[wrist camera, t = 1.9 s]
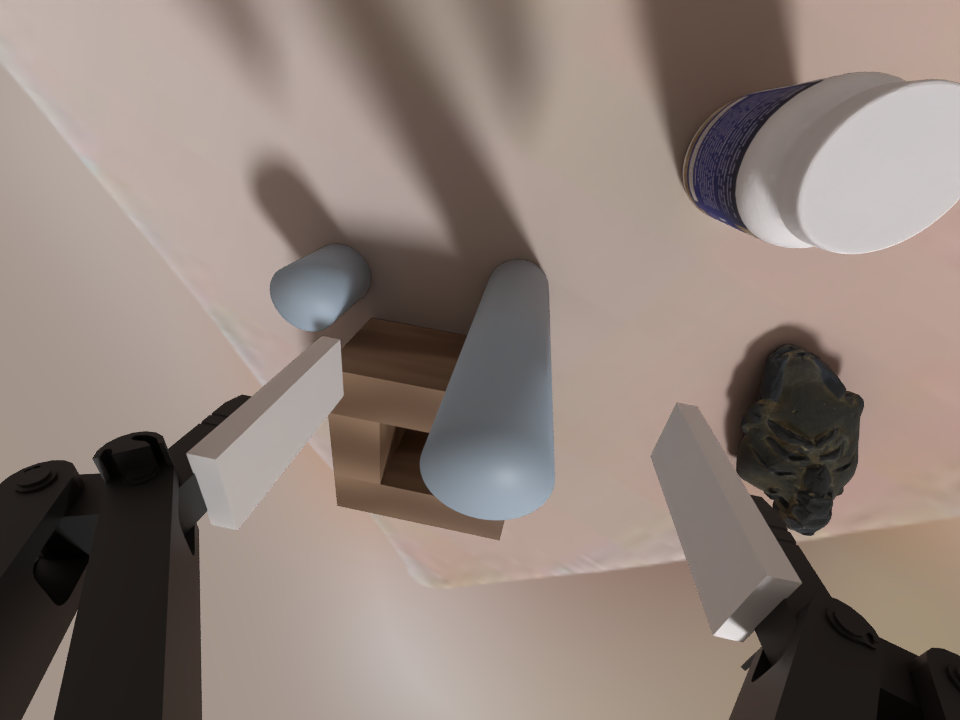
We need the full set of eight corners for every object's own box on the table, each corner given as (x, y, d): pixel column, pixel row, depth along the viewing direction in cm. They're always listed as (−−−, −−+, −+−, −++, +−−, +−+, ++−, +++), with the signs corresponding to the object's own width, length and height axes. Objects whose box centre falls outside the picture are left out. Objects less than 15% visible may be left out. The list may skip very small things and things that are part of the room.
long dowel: (492, 254, 24) (423, 409, 10) (555, 265, 24) (570, 438, 10) (483, 312, 26) (416, 505, 12) (541, 322, 26) (538, 531, 12)
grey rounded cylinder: (311, 238, 25) (264, 260, 21) (370, 249, 25) (334, 272, 21) (317, 295, 27) (275, 324, 23) (371, 305, 27) (338, 336, 23)
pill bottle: (682, 229, 22) (772, 289, 13) (675, 117, 19) (781, 100, 11) (800, 199, 20) (988, 244, 12) (810, 72, 18) (1059, 10, 9)
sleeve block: (371, 318, 28) (323, 368, 22) (535, 348, 27) (533, 408, 21) (374, 440, 34) (337, 505, 28) (507, 467, 33) (499, 540, 27)
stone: (853, 327, 23) (928, 371, 19) (828, 482, 29) (882, 545, 25) (729, 348, 25) (770, 393, 21) (729, 490, 31) (761, 550, 26)
